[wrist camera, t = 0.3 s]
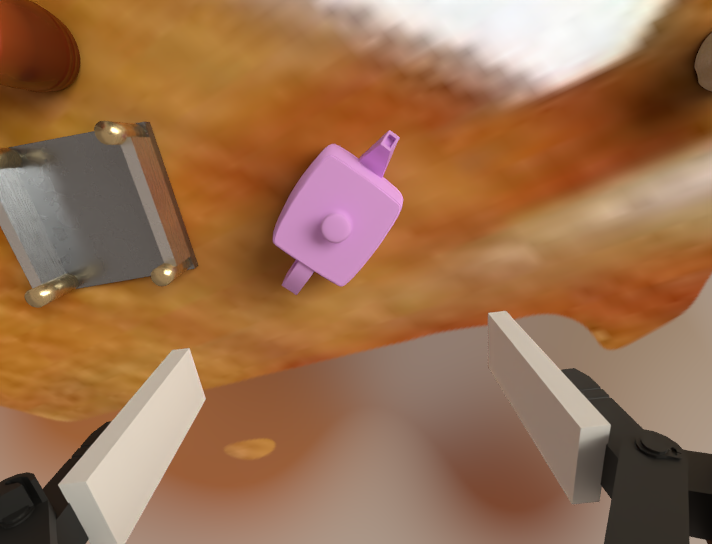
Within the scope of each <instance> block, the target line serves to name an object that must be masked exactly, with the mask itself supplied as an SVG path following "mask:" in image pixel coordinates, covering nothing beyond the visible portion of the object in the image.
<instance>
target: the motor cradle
mask: <svg viewBox="0 0 712 544" xmlns="http://www.w3.org/2000/svg"><path fill="white" fill-rule="evenodd" d="M0 226H1V228H2V230H3V232H4V234H5V236H6V238H7V240H8V242H9V244H10V246H11V248H12V250H13V251H14V253H15V255H16V257H17V259H18V261H19V263H20V265H21V267H22V269H23V271H24V273H25V275H26V277H27V279H28V281H29V283H30V285H31V286H32V288H33V289H31V290H29V291H27V292H26V293H25V299H26V301H27V303H28V304H30V305H31V306H33V307H42V306H44V305H46V304H47V303H49V302H51V301H53V300H55V299H57V298H59V297H61V296H62V295H64V294H66V293H68V292H70V291H72V290H74V289H77V288H83V287H89V286H95V285H101V284H107V283H112V282H118V281H124V280H130V279H136V278H141V277H147V276H151V279H152V281H153V282H154V283H155V284H156V285H159V286H166V285H168V284H169V283H170V282H172V281H173V280H174V279H175V278H177V277H178V276H179V275H181V274H182V273H183V272H184V271H186V270H188V269H194V268H196V267H197V266H198V264H197V261H196V258H195V255H194V252H193V249H192V246H191V243H190V240H189V237H188V234H187V231H186V228H185V225H184V222H183V219H182V216H181V213H180V210H179V207H178V204H177V202H176V199H175V196H174V193H173V190H172V187H171V184H170V181H169V178H168V175H167V172H166V169H165V166H164V163H163V160H162V157H161V154H160V151H159V148H158V145H157V142H156V139H155V137H154V134H153V131H152V128H151V125H150V122H141V123H136V124H132V123H121V122H110V121H100V122H98V123H97V124H96V125H95V128H94V132H88V133H83V134H78V135H73V136H67V137H62V138H57V139H52V140H46V141H41V142H36V143H30V144H25V145H20V146H15V147H9V148H0Z"/></svg>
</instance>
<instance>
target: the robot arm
mask: <svg viewBox="0 0 712 544" xmlns="http://www.w3.org/2000/svg"><path fill="white" fill-rule="evenodd" d="M488 368H489V370H490V371H491V373H492V374H493V376H494V378H495V379H496V381H497V382H498V384H499V386H500V388H501V389H502V391H503V392H504V394H505V395H506V397H507V399H508V401H509V402H510V404H511V405H512V407H513V409H514V410H515V412H516V413H517V415H518V417H519V418H520V420H521V422H522V423H523V425H524V427H525V428H526V430H527V432H528V433H529V435H530V436H531V438H532V439H533V441H534V443H535V445H536V446H537V448H538V449H539V451H540V453H541V454H542V456H543V458H544V459H545V461H546V463H547V464H548V466H549V467H550V469H551V470H552V472H553V474H554V476H555V477H556V479H557V480H558V482H559V484H560V485H561V487H562V489H563V490H564V492H565V494H566V495H567V497H568V498H569V500H570V502H571V503H572V504H580V503H590V502H599V501H600V494H601V487H603V488H604V490H605V491H606V492H607V493H608V495H609V496H610V498H611V499H612V500H611V506H610V512H609V518H608V523H607V530H606V535H605V542H604V544H689V536H691V537H695V538H700V539H705V540H706V541H707V543H708V544H712V454H707V453H700V452H693V451H687V450H683V449H682V448H681V447H680V446H679V445H678V444H677V443H676V442H674V441H672V440H671V439H669V438H668V437H666V436H663V435H661V434H659V433H657V432H654V431H649V430H644V429H642V428H641V427H640V426H639V425H638V424H637V423H636V422H635V421H634V420H633V419H632V418H631V417H630V416H629V415H628V414H627V413H626V412H625V411H624V410H623V409H622V408H621V407H620V406H619V405H618V404H617V403H616V402H615V401H614V400H613V399H612V398H609V395H608V394H607V393H606V392H605V391H604V390H603V389H601V388H600V386H599V385H598V384H597V383H596V382H594V381H593V380H592V379H591V378H590V377H589V376H587V375H586V374H584V373H582V372H580V371H578V370H577V369H574V368H573V369H564V370H560V369H559V368H558V367H557V366H556V365H555V364H554V363H553V362H552V361H551V359H550V358H549V357H548V356H547V355H546V354H545V353H544V352H543V351H542V350H541V349H540V347H539V346H538V345H537V344H536V343H535V342H534V341H533V340H532V339H531V338H530V337H529V336H528V334H527V333H526V332H525V331H524V330H523V329H522V328H521V327H520V326H519V325H518V324H517V322H516V321H515V320H514V319H513V318H512V317H511V316H510V315H509V314H508V313H507V312H506V311H502V312H493V313H488ZM205 400H206V398H205V395H204V392H203V389H202V386H201V383H200V380H199V377H198V373H197V370H196V367H195V364H194V361H193V358H192V355H191V352H190V349H189V348H186V349H178V350H172V351H171V352H170V353H169V355H168V356H167V357H166V358H165V359H164V361H163V362H162V363H161V364H160V365H159V366H158V368H157V369H156V370H155V371H154V372H153V373H152V375H151V376H150V377H149V378H148V379H147V381H146V382H145V383H144V384H143V385H142V386H141V388H140V389H139V390H138V391H137V392H136V393H135V395H134V396H133V397H132V398H131V399H130V401H129V402H128V403H127V404H126V405H125V406H124V408H123V409H122V410H121V411H120V412H119V414H118V415H117V416H116V417H115V418H114V419H113V421H111V422H106V423H105V424H104V425H102V426H101V427H100V428H98V429H97V430H96V431H94V432H93V433H92V434H91V435H90V436H89V437H88V438H87V439H86V440H85V442H84V443H83V444H82V445H81V448H78V450H77V451H76V452H75V453H74V454H73V455H72V458H71V459H69V460H68V461H67V462H66V463H65V464H64V465H63V467H62V468H61V469H60V470H59V471H58V473H56V474H55V476H54V477H53V478H52V479H51V480H50V481H49V482H48V484H47V485H46V486H45V487H44V488H43V489H42V488H41V486H40V484H39V482H38V481H37V479H36V477H35V475H34V474H32V473H22V474H17V475H14V476H12V477H10V478H7V479H5V480H3V481H1V482H0V544H86V542H87V541H88V540H89V542H90V544H125V543H126V541H127V540H128V538H129V536H130V534H131V532H132V531H133V529H134V527H135V525H136V523H137V522H138V520H139V518H140V516H141V514H142V512H143V511H144V509H145V507H146V505H147V503H148V502H149V500H150V498H151V497H152V494H153V493H154V491H155V489H156V488H157V486H158V484H159V482H160V480H161V479H162V477H163V475H164V473H165V471H166V470H167V468H168V466H169V464H170V462H171V461H172V459H173V457H174V455H175V453H176V452H177V450H178V448H179V446H180V444H181V443H182V441H183V439H184V437H185V435H186V434H187V432H188V430H189V428H190V427H191V425H192V423H193V421H194V419H195V418H196V416H197V414H198V412H199V410H200V409H201V407H202V405H203V403H204V401H205Z"/></svg>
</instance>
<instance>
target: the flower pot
mask: <svg viewBox="0 0 712 544" xmlns="http://www.w3.org/2000/svg"><path fill="white" fill-rule="evenodd" d="M694 68H695V70H696V72H697V75H698V83H699V84H700V85H701V86H702V87H703V88H705V89H706V90H709V91H712V33H711V34H710V35H709V36H708V37H707V38H706V39H705V41H704V42H703V44H702V45H701V47H700V49H699V51H698V53H697V56H696V60H695V67H694Z"/></svg>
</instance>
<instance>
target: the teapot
mask: <svg viewBox="0 0 712 544" xmlns="http://www.w3.org/2000/svg"><path fill="white" fill-rule="evenodd" d="M399 138H400V137H398V136H397V135H396V134H394V133H393V132H392V131H390V130H389V131H388V132H387V133H386V134H385V135H383V136H382V137H381V138H380V139H379V140H378V141H377V142H376V143H375V144H374V145H373V146H372V147H370V148H369V149H368V150H367V151H366V152H365V153H364V154H363V155H362V156H361V157H360V158H357V157H356V156H354V155H353V154H351V153H350V152H348V151H347V150H345V149H343V148H342V147H340V146H338V145H336V144H331V145H328V146H327V147H326V148H325V149H324V150H323V151H322V152H321V153H320V154H319V155H318V156H317V158H316V159H315V160H314V161H313V162H312V163H311V165H310V166H309V167H308V168H307V170H306V171H305V172H304V174H303V175H302V176H301V178H300V179H299V181H298V182H297V184H296V185H295V187H294V189H293V190H292V192H291V194H290V195H289V197H288V199H287V201H286V203H285V205H284V207H283V209H282V211H281V213H280V216H279V218H278V220H277V222H276V225H275V228H274V232H273V243H274V244H275V245H276V246H277V247H279V248H280V249H281V250H283V251H284V252H286V253H287V254H289V255H290V256H291V257H293V258H295V259H296V260H295V262H294V263H293V265H292V266H291V268H290V269H289V271H288V272H287V274H286V276H285V279H284V281H283V283H282V286H283V287H285V288H286V289H288V290H290V291H291V292H293V293H294V294H296V295H297V294H298V293H299V291H300V290H301V289H302V287H303V286H304V285H305V283H306V282H307V281H308V279H309V278H310V277H311V275H312V274H313V273H314V271H315V272H316V273H318V274H319V275H321V276H323V277H324V278H326V279H328V280H329V281H331V282H333V283H335V284H336V285H338V286H344V285H345V284H347V283H348V282H349V281H350V280H351V279H352V278H353V277H354V276H355V275H356V274H357V273H358V271H359V270H360V269H361V268H362V267H363V265H364V264H365V263H366V262H367V261H368V259H369V258H370V257H371V256H372V254H373V253H374V252H375V251H376V249H377V248H378V246H379V245H380V244H381V242H382V241H383V239H384V238H385V236H386V235H387V233H388V232H389V230H390V229H391V227H392V226H393V224H394V222H395V221H396V219H397V217H398V215H399V213H400V211H401V208H402V204H403V197H402V194H401V193H400V191H399V190H398V189H397V188H396V187H395V186H393V185H392V184H391V183H390V182H389V181H388V180H386V179H385V178H384V177H383V175H384V173H385V170H386V168H387V166H388V163H389V161H390V158H391V156H392V154H393V151H394V149H395V147H396V144H397V142H398V140H399Z"/></svg>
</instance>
